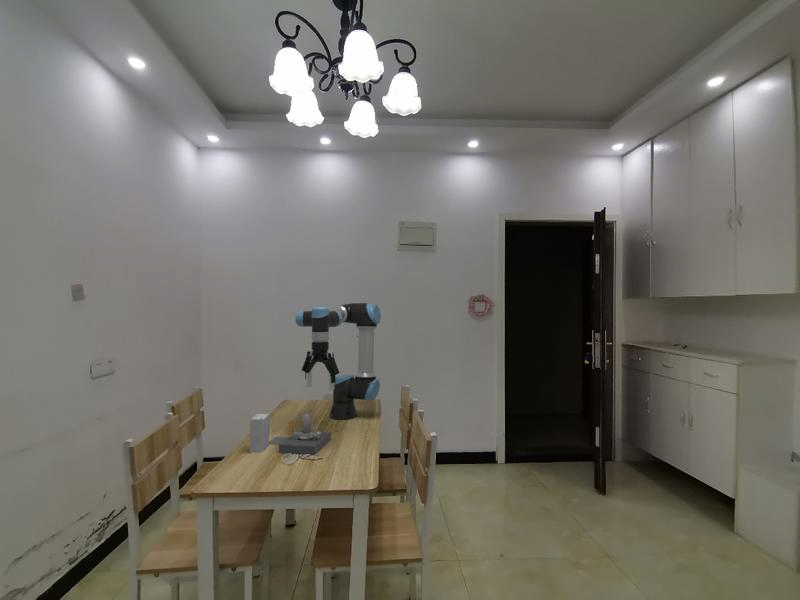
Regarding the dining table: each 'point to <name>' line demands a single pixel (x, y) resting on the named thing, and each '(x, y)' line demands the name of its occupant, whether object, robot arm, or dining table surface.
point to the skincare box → (259, 433)
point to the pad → (277, 440)
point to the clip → (291, 432)
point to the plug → (306, 426)
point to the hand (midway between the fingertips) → (319, 388)
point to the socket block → (304, 444)
